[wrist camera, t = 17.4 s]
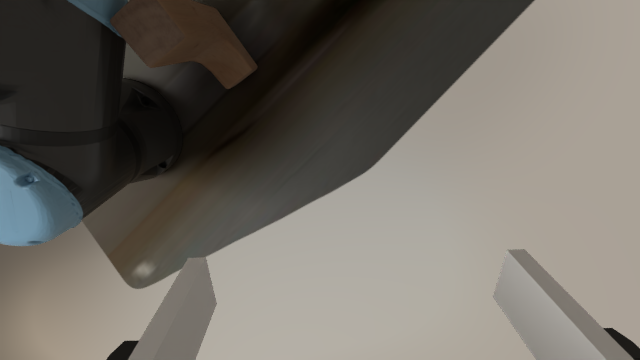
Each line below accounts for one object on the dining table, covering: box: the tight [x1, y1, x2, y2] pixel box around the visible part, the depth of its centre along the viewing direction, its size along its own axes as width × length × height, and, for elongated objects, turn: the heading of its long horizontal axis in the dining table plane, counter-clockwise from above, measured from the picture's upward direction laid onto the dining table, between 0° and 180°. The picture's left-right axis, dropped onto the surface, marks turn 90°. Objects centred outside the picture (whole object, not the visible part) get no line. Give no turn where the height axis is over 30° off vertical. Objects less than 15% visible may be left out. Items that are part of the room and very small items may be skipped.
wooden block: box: [110, 0, 258, 89], centre depth 33 cm, size 9×4×18 cm, turn 34°
